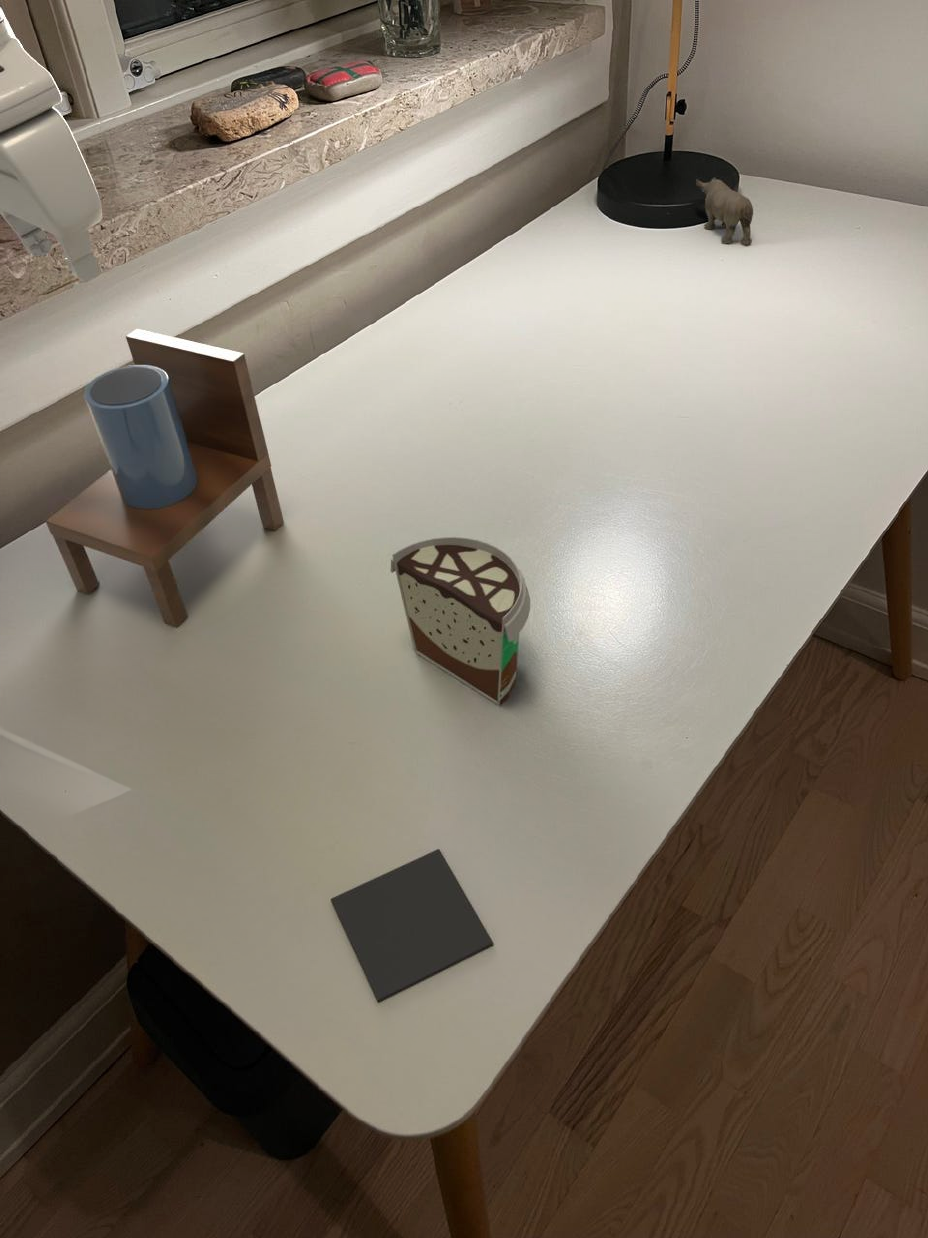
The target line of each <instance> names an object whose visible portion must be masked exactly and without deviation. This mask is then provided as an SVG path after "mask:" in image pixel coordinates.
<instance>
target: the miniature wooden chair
mask: <svg viewBox="0 0 928 1238" xmlns="http://www.w3.org/2000/svg"><path fill="white" fill-rule="evenodd" d="M125 340H126V342H127V346H128V348H129V352H130V355H131V358H132V361H133V364H134V365H149V366H154V367H157V368H160V369H162V370H163V371H164V372H165V373H166V374H167V375H168V378H169V381H170V385H171V388H172V391H173V395H174V398H175V401H176V405H177V408H178V411H179V414H180V418H181V421H182V424H183V428H184V431H185V434H186V438H187V441H188V444H189V448H190V451H191V454H192V457H193V461H194V464H195V467H196V471H197V474H198V484H197V486H196V488H195V489H194V491H193V492H192V493H191V494H190V495H189V496H187V497H186V498H184V499H183V500H181V501H179V502H177V503H175V504H173V505H170V506H167V507H163V508H157V509H139V508H135V507H132V506H130V505H128V504H127V503H125V502H124V501H123V499H122V497H121V495H120V492H119V489H118V487H117V484H116V481H115V478H114V476H113V473H112V470H111V469H110V470H108V471H107V472H105V473H104V474H103V475H102V476H100V477H99V478H98V479H97V480H95V481H94V482H93V483H92V484H90V485H89V486H88V487H87V488H85V489H84V490H83V491H81V492H80V493H79V494H78V495H76V496H75V497H74V498H73V499H71V500H70V501H69V502H67V503H66V504H65V505H64V506H63V507H62V508H60V509H59V510H57V511H56V512H55V513H53V514H52V515H51V516H50V517H49V518H47V519H46V520H45V524H46V526H47V528H48V530H49V533H50V535H52V537H53V539H54V541H55V544H56V546H57V548H58V551H59V553H60V556H61V558H62V560H63V562H64V564H65V566H66V569H67V571H68V573H69V575H70V578H71V580H72V582H73V585H74V586H75V589H76V590H77V591H78V592H81V593H83V594H86V595H90V594H91V593H92V592H93V591H94V590H95V589H97V588H98V587H99V586H100V582H99V579H98V577H97V575H96V572H95V570H94V567H93V565H92V563H91V560H90V558H89V555H88V553H87V551H86V548H89V549H92V550H95V551H98V552H100V553H103V554H105V555H106V554H107V555H109V556H112V557H115V558H118V559H120V560H123V561H127V562H130V563H132V564H135V565H138V566H141V567H143V571H144V573H145V575H146V578H147V580H148V583H149V585H150V589H151V591H152V594H153V596H154V599H155V602H156V604H157V608H158V610H159V612H160V615H161V618H162V621H163V623H164V624H166V625H169V626H172V627H175V628H178V627H179V626H180V625H182V624H183V622H185V621H186V619H188V617H189V616H188V612H187V610H186V606H185V603H184V601H183V598H182V595H181V593H180V590H179V587H178V584H177V581H176V578H175V576H174V573H173V570H172V568H171V564H170V562H169V561H170V560H171V559H172V558H173V557H174V556H175V555H176V554H177V553H178V552H179V551H180V550H181V549H182V548H184V547H185V546H186V545H187V544H188V543H189V542H190V541H192V539H194V538H195V537H196V536H197V535H198V534H199V533H201V532H202V530H203V529H205V528H206V527H207V526H208V525H209V524H210V523H211V522H213V520H214V519H216V518H217V517H218V516H219V515H220V514H221V513H223V511H224V510H225V509H226V508H227V507H228V506H229V505H231V504H232V503H233V502H234V501H235V500H236V499H237V498H238V497H239V496H241V495H242V494H243V493H244V492H245V491H246V490H247V489H248V488H249V487H252V491H253V494H254V495H253V496H254V499H255V502H256V506H257V510H258V515H259V517H260V522H261V525H262V527H263V528H264V529H268V530H271V531H274V532H277V530H278V529H279V528H281V526H282V525H283V524H284V523H285V521H284V517H283V513H282V507H281V504H280V500H279V495H278V491H277V486H276V482H275V479H274V475H273V471H272V463H271V458H270V455H269V454H270V453H269V451H268V446H267V442H266V438H265V433H264V429H263V425H262V421H261V417H260V412H259V409H258V404H257V401H256V400H257V399H256V397H255V393H254V388H253V384H252V379H251V375H250V372H249V368H248V363H247V360H246V355H245V353H244V352H240V351H236V350H231V349H227V348H222V347H218V346H213V345H209V344H205V343H200V342H197V341H191V340H187V339H183V338H178V337H175V336H170V335H166V334H162V333H158V332H153V331H150V330H149V331H148V330H144V329H140V328H135V329H134V330H133V331H131V332H129V333H128V334H127V335H125ZM85 547H86V548H85Z"/></svg>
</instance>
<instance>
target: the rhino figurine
mask: <svg viewBox="0 0 928 1238" xmlns="http://www.w3.org/2000/svg"><path fill="white" fill-rule="evenodd" d="M695 184H696V186H697V187H699V188H700V189H701V190H702V192H704V193H705V194H706V198H705V206H704V207H705V209H704V210H705V214H706V216H707V219H708V220H707V221H708V222H706V223H705V224H704V226H703V228H704V229H706V230H714V229H715V227H716V223H715V222H716V221H715V220H718V221H719V222H722V223H721V225H720V226H721V227H722V228H726V230H725V234H724V235H723V236H722V237H721V238H720V243H722V244H727V245H728V244H732V242H733V236H734V235H735V232H736V229H737V228H736V227H737V225H738V224H739V222H740V226H741V229H742V234H743V235H742V238H741V239H740V241H739V242H740V244H741V245H744V246H749V245H751V244H752V239H751V224H752V221H753V217H754V207H753V205H752V202H751V200H750V198H748V197H747V196H745V195H743V194H741V193H739V192H737V191H736V190H733V189H731V187H729V186H728V184H726V183H725V182H724V181H722V180H721V179H717V178H716V177H712V178H711V179H710V181H708V182H703V181H700V180H699V179H698V178H696V179H695Z"/></svg>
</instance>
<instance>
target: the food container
mask: <svg viewBox="0 0 928 1238" xmlns="http://www.w3.org/2000/svg"><path fill="white" fill-rule="evenodd" d="M394 572H395V574H396V579H397V583H398V587H399V591H400V595H401V600H402V605H403V608H404V613H405V617H406V622H407V625H408V630H409V634H410V638H411V642H412V647H413V651H414V653H415V654H416V655H418V656H419V657H421V658H423V659H424V660H426V661H427V662H429V663H431V664H432V665H434V666H435V667H436V668H438V669H440V670H442V671H443V672H445V673H446V674H447V675H450V676H451V677H452V678H454V679H456V680H457V681H459V682H460V683H462V684H463V685H465V686H467V687H468V688H470V689H471V690H473V691H474V692H476V693H478V694H479V695H481V696H482V697H484V698H485V699H487V700H488V701H489V702H492V703H493V704H495V705H496V706H497V707H501V706H502V705H503V704H504V703H505V702H506V701H507V700H508V698H509V697H510V695H511V693H512V691H513V689H514V688H515V685H516V679H517V678H516V677H517V665H518V655H519V643H520V642H519V641H520V633H521V631H523V629H524V628H525V625H526V623H527V621H528V619H529V615H530V612H531V597H530V592H529V589H528V586H527V583H526V579H525V577H524V575H523V573H522V571H521V569H520V568H519V567H518V565H517V563H516V562H515V561H514V560H513V558H511V556H509V555H508V554H507V553H506V552H505V551H503V550H502V549H500V548H498V547H497V546H496V545H493V544H491V543H489V542H486V541H483V540H479V539H475V538H469V537H461V536H443V537H436V538H429V539H424V540H420V541H418V542H415V543H412V544H409V545H406V546H405V547H403V548H401V549H399V550H398V551H396V552H394V553H393V554H392V558H391V559H390V573H391V574H392V573H394Z"/></svg>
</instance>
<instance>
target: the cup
mask: <svg viewBox="0 0 928 1238" xmlns="http://www.w3.org/2000/svg"><path fill="white" fill-rule="evenodd" d="M83 393H84V394H83V397H84V401H85V403H86V406H87V408H88V411H89V414H90V416H91V419H92V422H93V425H94V428H95V430H96V433H97V436H98V438H99V441H100V443H101V446H102V449H103V451H104V455H105V456H106V460H107V463H108V465H109V467H110V470H112V473H113V476H114V478H115V481H116V484H117V487H118V489H119V492H120V495H121V497H122V499H123V501H124V502H125V503H127V504H128V505H130V506H132V507H135V508H139V509H157V508H163V507H167V506H170V505H173V504H175V503H177V502H179V501H181V500H183V499H184V498H186V497H187V496H189V495H190V494H191V493H192V492H193V491H194V489H195V488H196V486H197V484H198V474H197V471H196V467H195V464H194V461H193V457H192V454H191V451H190V448H189V444H188V441H187V438H186V434H185V431H184V428H183V424H182V421H181V418H180V414H179V411H178V408H177V405H176V401H175V398H174V395H173V391H172V388H171V385H170V381H169V378H168V375H167V374H166V373H165V372H164V371H163V370H162V369H160V368H157V367H154V366H149V365H135V364H134V365H133V364H132V365H125V366H121V367H118V368H117V367H116V368H114V369H111V370H109V371H106V372H104V373H102V374H100V375H99V376H97V377H95V378H94V379H93V380H92V381H90V382H89V383H88V385H86V387H85V390H84V392H83Z"/></svg>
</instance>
